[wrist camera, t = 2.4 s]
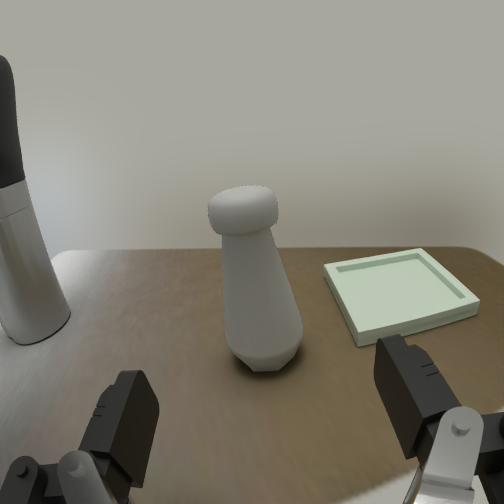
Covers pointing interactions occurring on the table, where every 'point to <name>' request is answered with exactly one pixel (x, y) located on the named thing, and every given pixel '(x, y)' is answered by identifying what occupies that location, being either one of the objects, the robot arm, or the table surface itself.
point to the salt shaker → (254, 279)
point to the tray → (397, 295)
